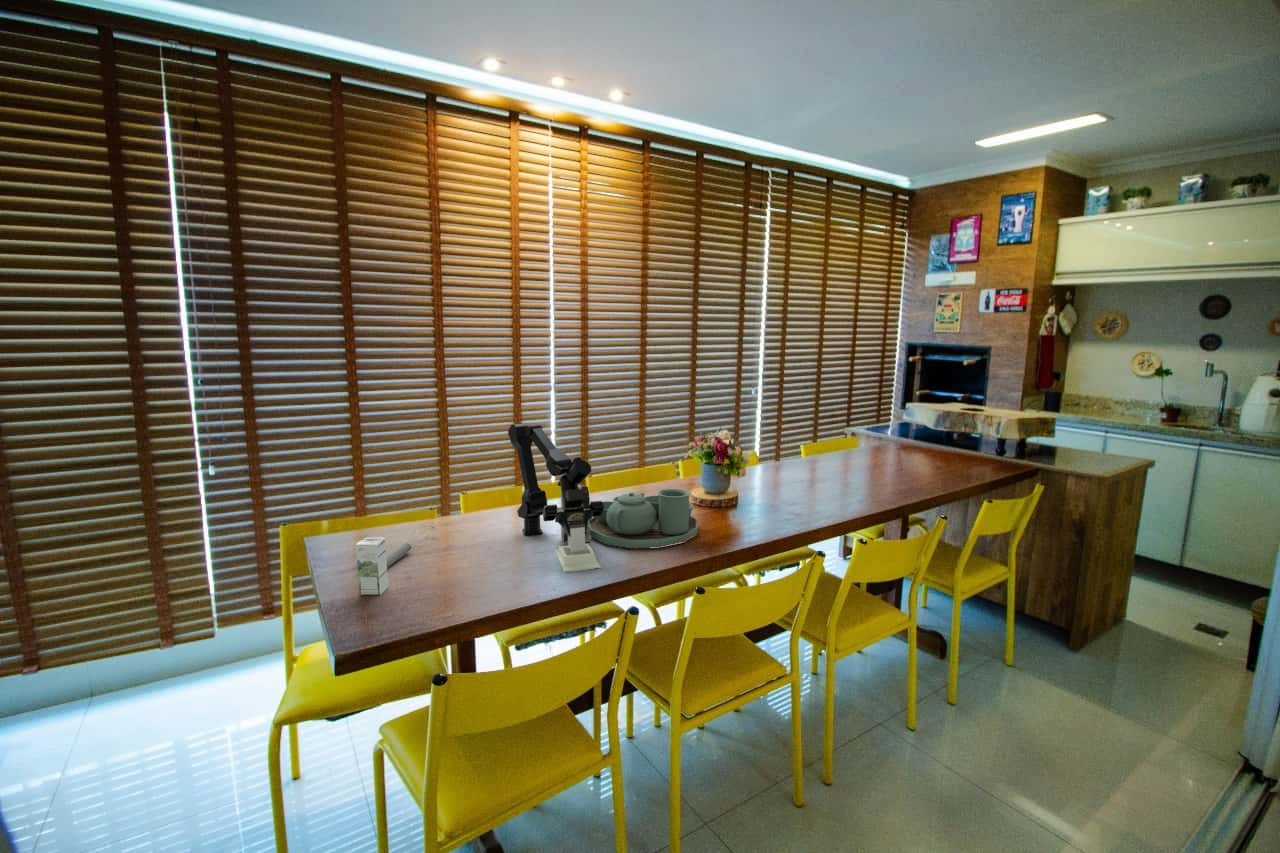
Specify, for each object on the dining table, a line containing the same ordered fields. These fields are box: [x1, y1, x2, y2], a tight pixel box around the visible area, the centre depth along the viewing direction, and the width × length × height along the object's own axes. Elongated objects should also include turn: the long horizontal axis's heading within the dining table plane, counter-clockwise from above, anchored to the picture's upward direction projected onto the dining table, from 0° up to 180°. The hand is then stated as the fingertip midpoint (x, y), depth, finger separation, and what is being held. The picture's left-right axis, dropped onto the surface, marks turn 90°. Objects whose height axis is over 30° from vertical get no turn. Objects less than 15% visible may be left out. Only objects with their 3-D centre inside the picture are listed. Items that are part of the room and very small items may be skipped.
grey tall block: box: [567, 520, 586, 555], centre depth 176 cm, size 4×4×10 cm
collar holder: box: [554, 543, 602, 574], centre depth 176 cm, size 18×11×3 cm, turn 17°
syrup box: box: [355, 537, 389, 596], centre depth 153 cm, size 6×6×14 cm
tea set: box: [590, 488, 699, 549], centre depth 203 cm, size 40×40×16 cm
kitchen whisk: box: [386, 522, 439, 569], centre depth 183 cm, size 6×34×6 cm, turn 173°
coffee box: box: [560, 493, 591, 546], centre depth 192 cm, size 9×6×16 cm
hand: (577, 535), depth 173 cm, fingers closed on grey tall block, 4 cm apart
